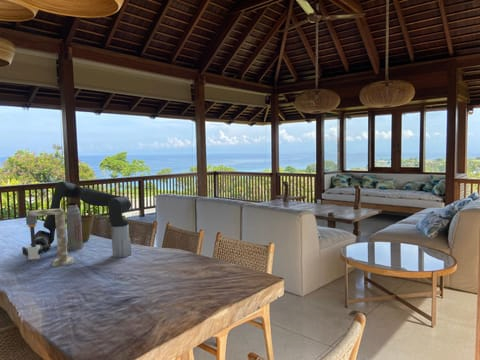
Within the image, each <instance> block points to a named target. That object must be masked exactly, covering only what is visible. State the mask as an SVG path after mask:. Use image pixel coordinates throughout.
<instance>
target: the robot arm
mask: <svg viewBox="0 0 480 360" xmlns="http://www.w3.org/2000/svg"><path fill="white" fill-rule="evenodd" d="M55 185H56V186H55V188H54V190H53V195H52V199H51V202H50V207H49V209H61V206H60V205H61V201H62V200H63V198H68V199H76V200H81V202H82V203H84V204H85V205H86V204H88V205H90V206H95V207H107V211H108V220H109V222H110V227H111V228H110V229H111V230H110V231H111V244H112V245H111V247H112V248H111V249H112V257H113V258H126V257H129V256H130V255H132V242H131V241H132V240H131V238H130V231H129V230H130V227H129V220H128V219H127V218H124V217H123V213H126V212H128V211H129V210H130V209H131V207H132V202H131V200H130V199H129V198H128V197H127V196H124V195H117V194H111V193H108V192H105V191H102V190H98V189H94V188H89V187H82V186H80V185H77V184H75V183H74V182H68V181H63V180H62V181H58V183H57V184H55ZM42 225H43V227H44V229H47V230H48V231H45V230H41V229H40V230H38V231H36V232H35V243H36V245H40V249H39V250H38V255H40V256H41V255H42V254H43V253H47V252H49V251H50V250H51V249H52V244H53V243H54V241H55V235H56V222H55V215H46V218H45V220H44V223H43V224H42ZM29 246H32V245H31V244H30V245H29ZM21 248H22V249H21V252H22V255H25V256H26V257H28V247H25V246H23V247H21Z"/></svg>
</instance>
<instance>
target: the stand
mask: <svg viewBox="0 0 480 360" xmlns="http://www.w3.org/2000/svg"><path fill="white" fill-rule="evenodd" d="M47 215H55V222H56V229H55V235H56V247H57V258H54V260H53V261H52V264H51V266H52V267H58V266H59V265H60V266H66V265H67V266H68V265H73V262H74V256H68V240H67V226H66V213H65V209H64V210H63V208H62V207H60V209H50V208H49V209H36V210H35V209H33V210H29V211H27V216H28V217H29V216H37V217H39V216H41V217H42V216H47Z"/></svg>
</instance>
